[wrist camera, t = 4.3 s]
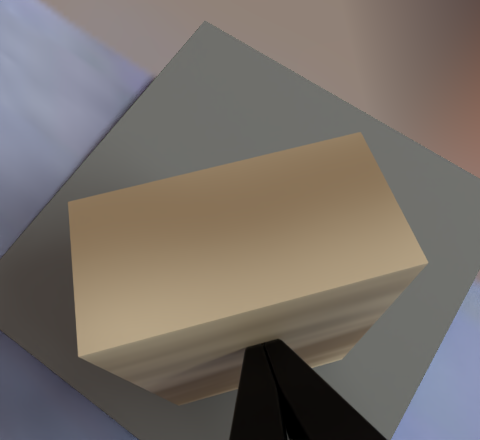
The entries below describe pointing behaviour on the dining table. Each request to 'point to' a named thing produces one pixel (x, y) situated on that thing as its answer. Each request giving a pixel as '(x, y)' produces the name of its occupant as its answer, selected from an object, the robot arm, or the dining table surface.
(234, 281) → the maple tile
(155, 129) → the rubber mat
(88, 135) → the dining table surface
